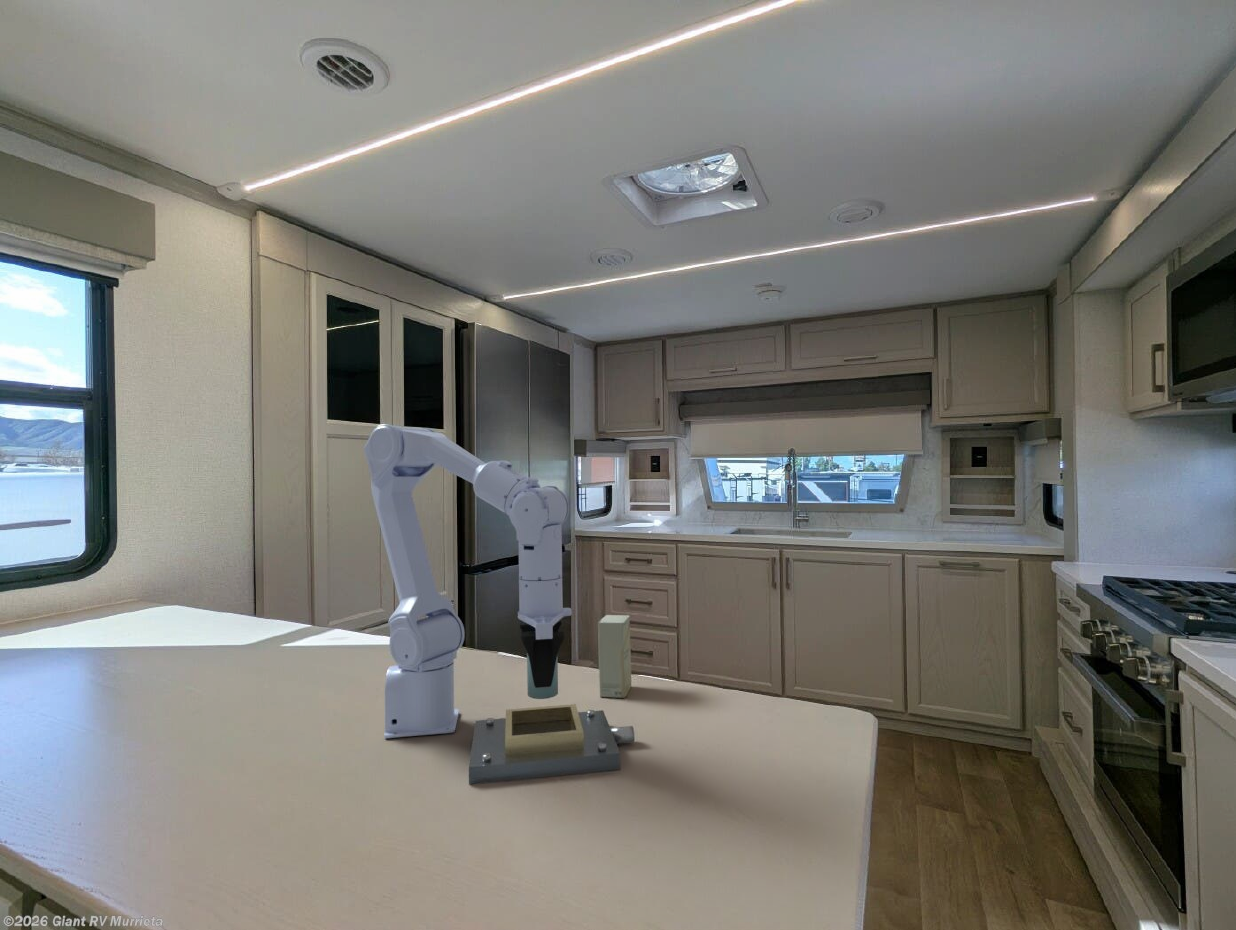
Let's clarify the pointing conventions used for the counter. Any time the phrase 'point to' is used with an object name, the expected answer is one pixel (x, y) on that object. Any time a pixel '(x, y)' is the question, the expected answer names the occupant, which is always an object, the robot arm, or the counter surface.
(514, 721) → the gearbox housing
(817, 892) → the counter surface
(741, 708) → the counter surface
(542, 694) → the spout can
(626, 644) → the skincare box
